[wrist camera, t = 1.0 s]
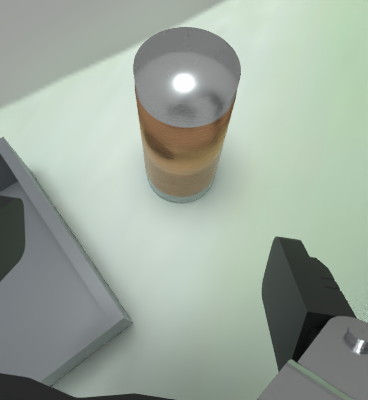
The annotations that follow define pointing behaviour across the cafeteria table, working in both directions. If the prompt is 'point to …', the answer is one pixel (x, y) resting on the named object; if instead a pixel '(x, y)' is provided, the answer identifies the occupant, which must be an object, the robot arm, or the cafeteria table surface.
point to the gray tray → (50, 289)
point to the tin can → (184, 108)
